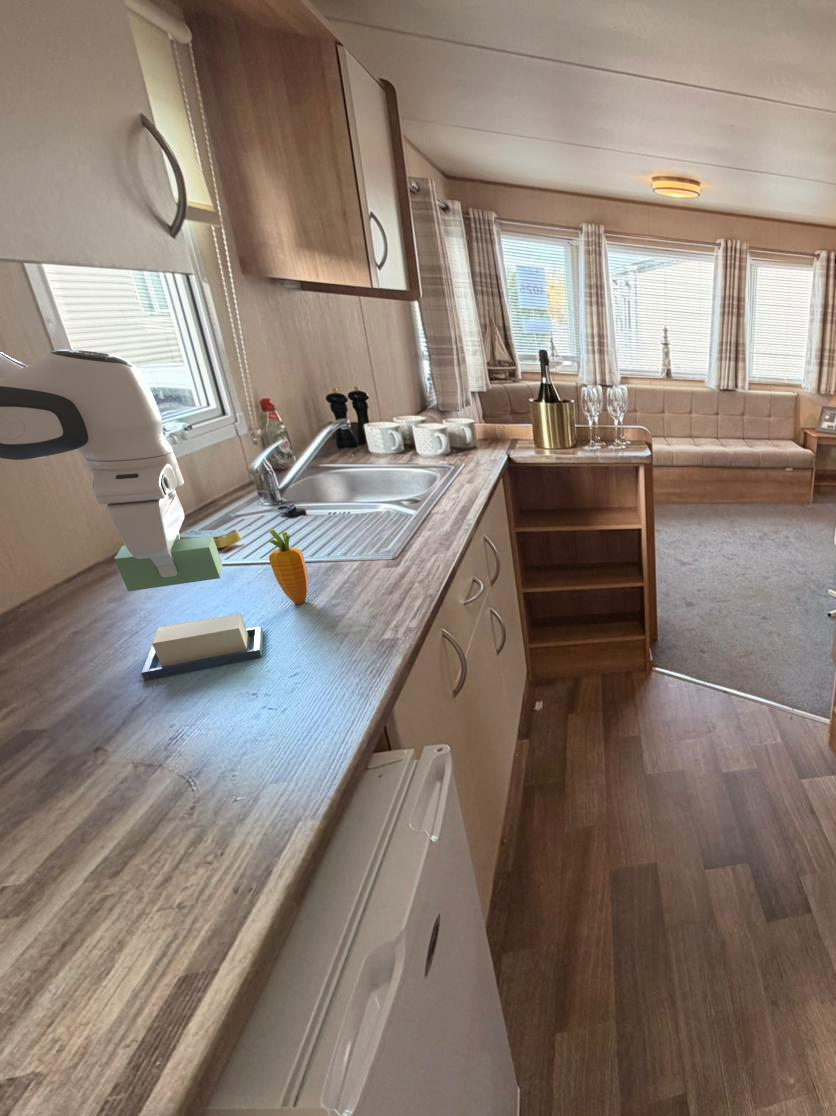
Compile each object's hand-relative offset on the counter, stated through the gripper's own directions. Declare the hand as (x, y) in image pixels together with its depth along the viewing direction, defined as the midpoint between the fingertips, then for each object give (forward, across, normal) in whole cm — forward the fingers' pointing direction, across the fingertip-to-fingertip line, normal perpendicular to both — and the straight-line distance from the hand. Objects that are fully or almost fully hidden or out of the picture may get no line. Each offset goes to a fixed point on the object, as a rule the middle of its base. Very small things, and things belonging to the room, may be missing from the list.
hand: (173, 567), depth 94 cm
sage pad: (+2, 0, 0) cm, 2 cm away
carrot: (+16, -16, +12) cm, 26 cm away
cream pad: (+15, 0, 0) cm, 15 cm away
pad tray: (+16, 0, 0) cm, 16 cm away
